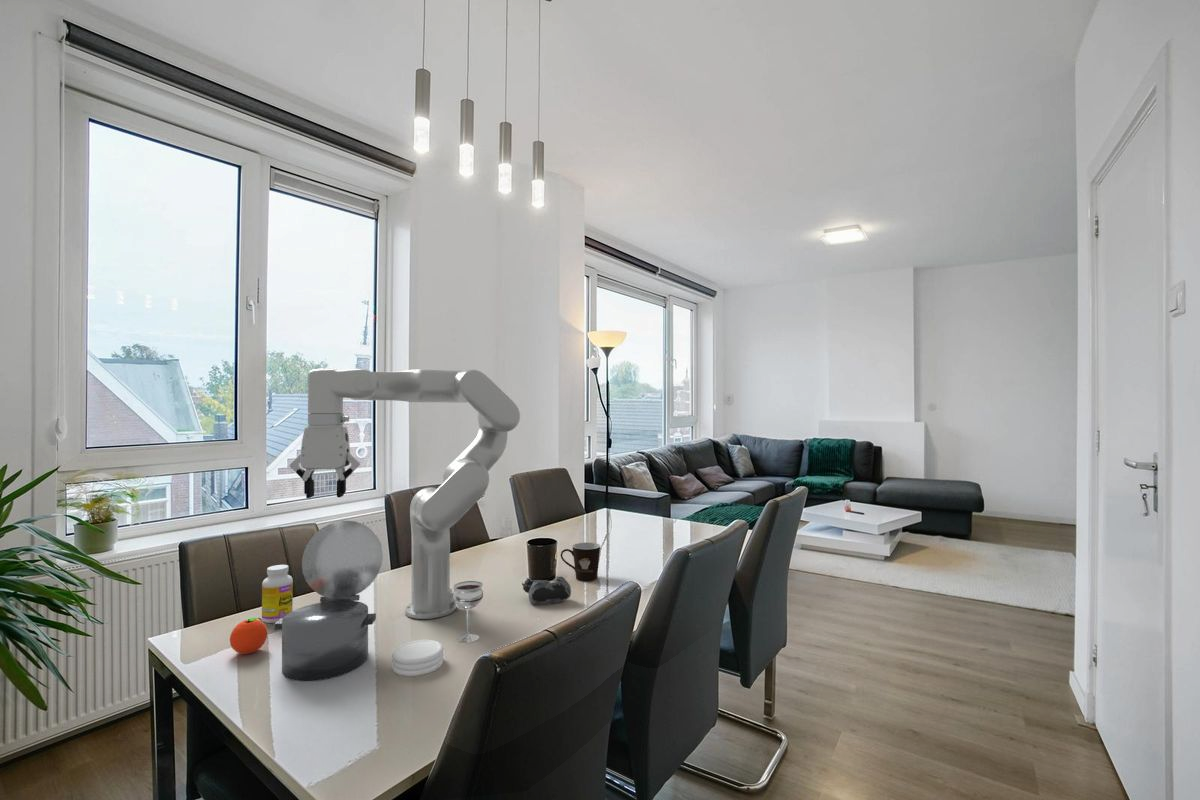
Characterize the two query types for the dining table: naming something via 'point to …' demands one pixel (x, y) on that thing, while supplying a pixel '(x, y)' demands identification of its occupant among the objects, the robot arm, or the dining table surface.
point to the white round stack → (417, 657)
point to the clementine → (248, 636)
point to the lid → (342, 560)
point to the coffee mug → (585, 560)
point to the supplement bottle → (277, 594)
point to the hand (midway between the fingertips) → (325, 496)
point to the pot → (324, 639)
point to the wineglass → (468, 603)
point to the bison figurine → (547, 591)
